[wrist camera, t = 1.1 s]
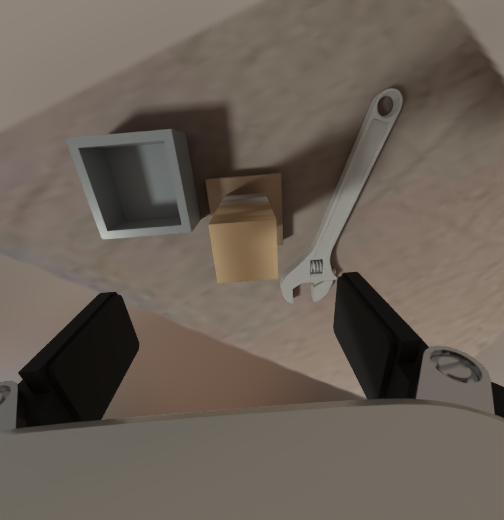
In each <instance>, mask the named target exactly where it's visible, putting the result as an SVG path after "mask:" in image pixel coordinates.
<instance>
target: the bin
mask: <svg viewBox="0 0 504 520" xmlns="http://www.w3.org/2000/svg"><path fill="white" fill-rule="evenodd" d="M65 140H66V142H67V145H68V148H69V151H70V153H71V156H72V159H73V162H74V164H75V167H76V170H77V172H78V175H79V178H80V181H81V183H82V186H83V189H84V191H85V194H86V197H87V200H88V202H89V205H90V208H91V210H92V213H93V216H94V219H95V221H96V224H97V227H98V229H99V232H100V235H101V238H102V239H114V238H126V237H139V236H152V235H165V234H177V233H190V232H192V231H193V229H194V228H195V227H196V225H197V224H198V223H199V221H200V220H201V217H200V212H199V206H198V200H197V194H196V188H195V183H194V177H193V171H192V165H191V160H190V154H189V148H188V142H187V136H186V133H183V132H180V131H177V130H173V129H164V130H153V131H141V132H130V133H119V134H107V135H96V136H85V137H73V138H65Z"/></svg>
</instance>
